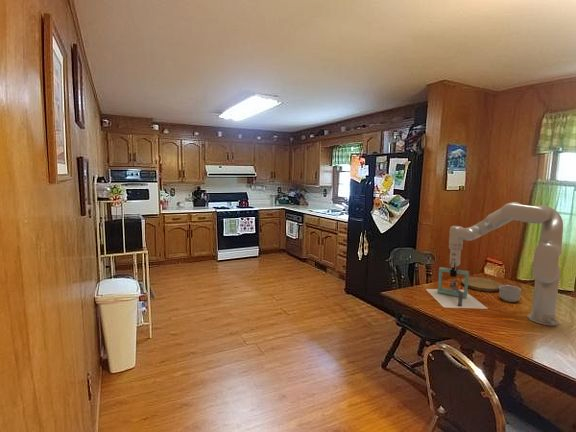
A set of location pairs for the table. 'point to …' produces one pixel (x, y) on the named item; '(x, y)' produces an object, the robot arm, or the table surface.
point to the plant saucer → (482, 284)
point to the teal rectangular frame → (449, 291)
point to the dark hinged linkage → (453, 286)
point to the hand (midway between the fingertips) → (453, 275)
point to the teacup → (509, 293)
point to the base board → (455, 300)
